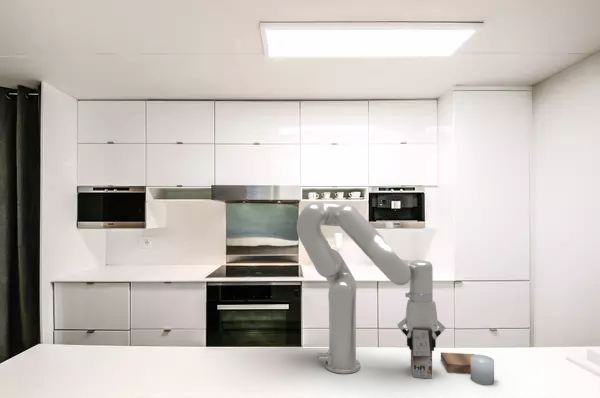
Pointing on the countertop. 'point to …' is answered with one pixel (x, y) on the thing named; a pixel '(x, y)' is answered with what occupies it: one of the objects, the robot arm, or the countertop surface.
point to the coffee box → (421, 353)
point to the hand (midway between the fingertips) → (421, 348)
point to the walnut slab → (457, 362)
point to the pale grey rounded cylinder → (482, 369)
